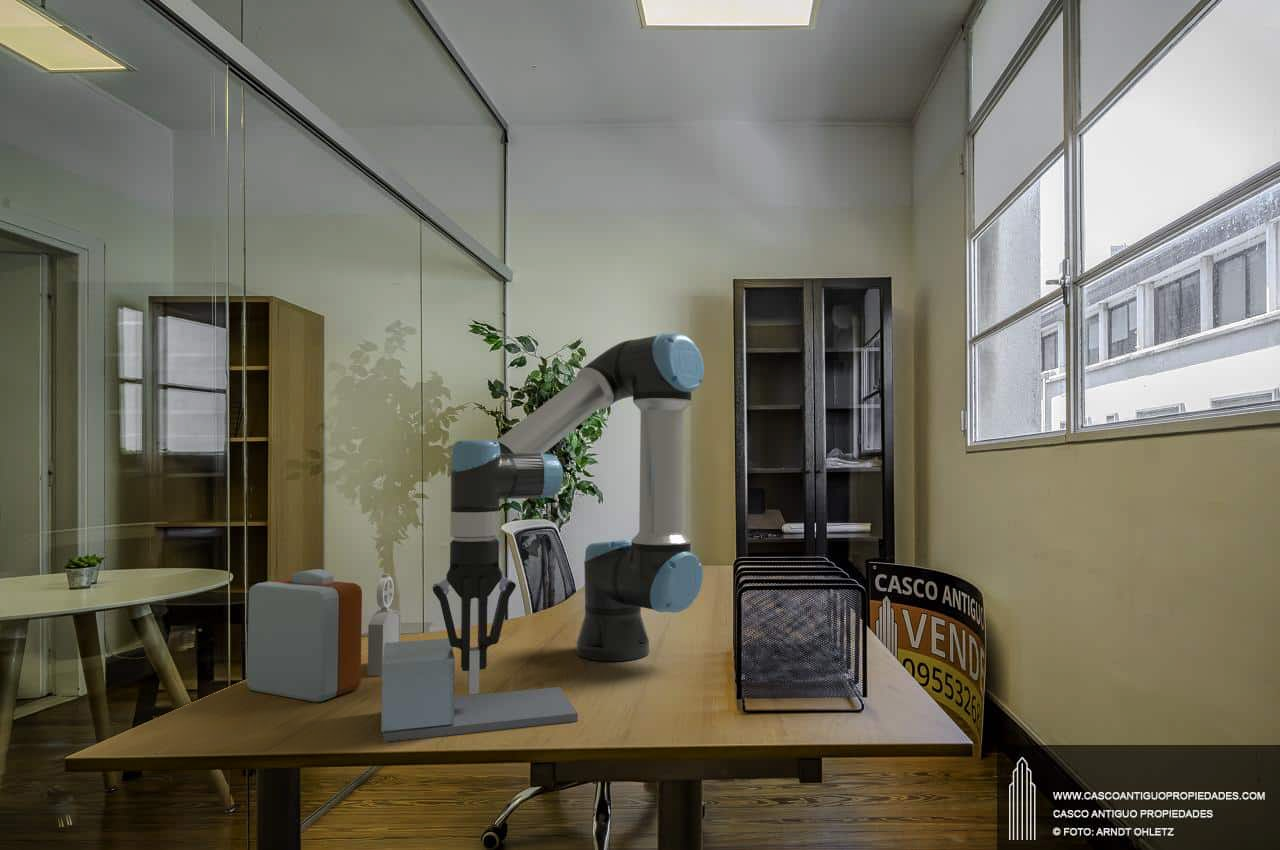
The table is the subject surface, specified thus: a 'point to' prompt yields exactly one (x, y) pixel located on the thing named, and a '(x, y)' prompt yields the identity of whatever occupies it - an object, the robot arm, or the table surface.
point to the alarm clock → (304, 636)
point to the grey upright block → (417, 684)
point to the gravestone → (382, 626)
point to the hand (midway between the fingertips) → (473, 690)
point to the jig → (498, 713)
